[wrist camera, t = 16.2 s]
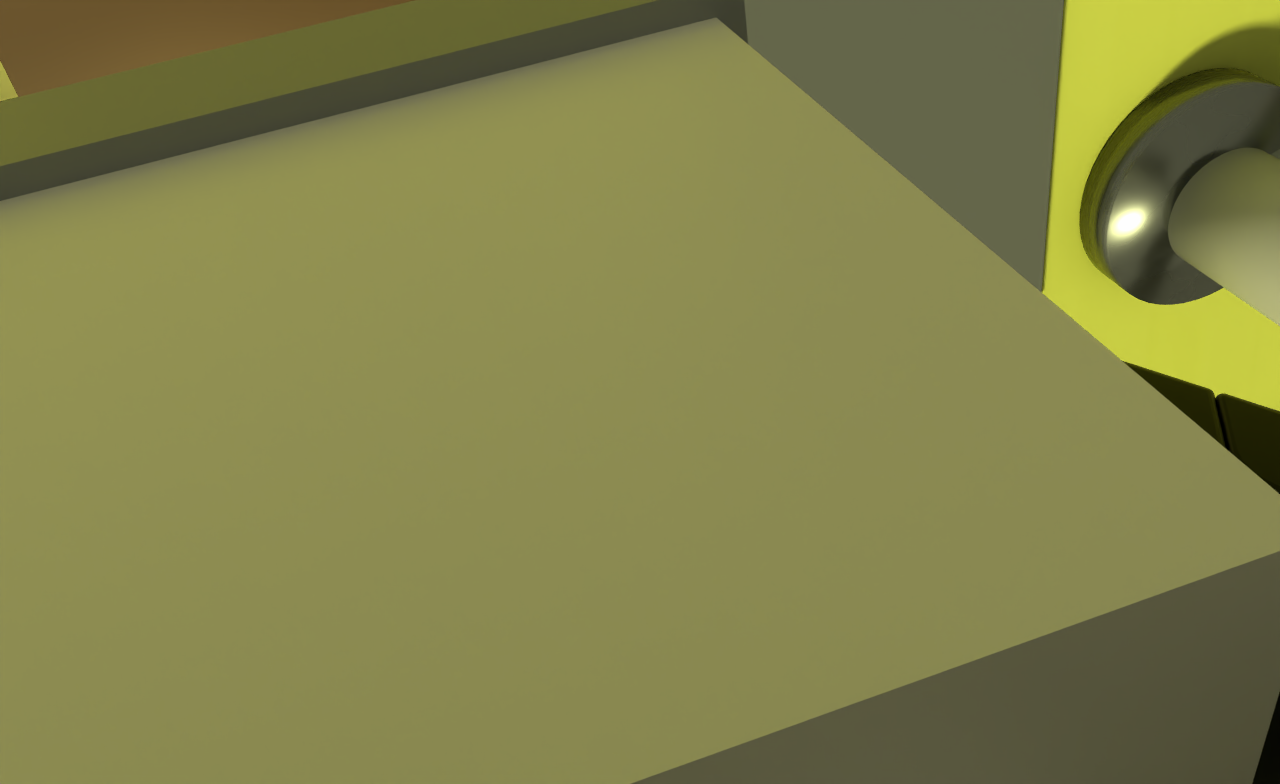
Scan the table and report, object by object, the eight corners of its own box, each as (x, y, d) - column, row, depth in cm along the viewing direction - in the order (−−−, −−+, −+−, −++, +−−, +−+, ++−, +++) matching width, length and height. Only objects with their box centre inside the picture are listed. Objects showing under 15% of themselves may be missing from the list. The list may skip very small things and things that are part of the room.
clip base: (1260, 249, 27) (1292, 268, 26) (1070, 308, 26) (1097, 331, 25) (1304, 41, 24) (1340, 57, 23) (1090, 103, 23) (1121, 120, 22)
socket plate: (1032, 302, 26) (1040, 309, 25) (696, 407, 25) (701, 415, 24) (1067, -184, 20) (1077, -181, 19) (624, -77, 18) (629, -72, 18)
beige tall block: (727, 452, 12) (1261, 1348, 6) (209, 615, 11) (204, 1851, 5) (657, -84, 9) (1686, 671, 3) (-79, 94, 8) (-1066, 1776, 2)
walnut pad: (636, 182, 21) (646, 195, 21) (140, 319, 20) (138, 337, 19) (538, -408, 16) (549, -409, 15) (-154, -275, 14) (-165, -270, 14)
